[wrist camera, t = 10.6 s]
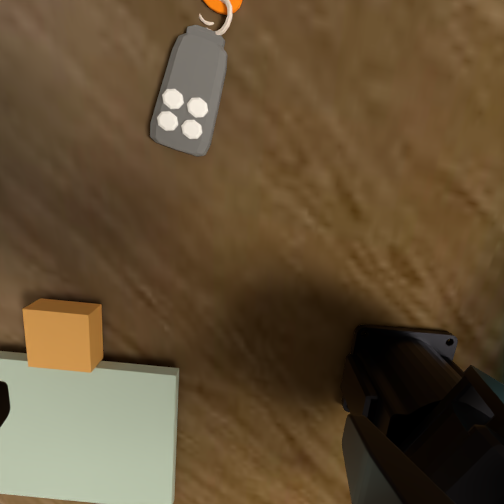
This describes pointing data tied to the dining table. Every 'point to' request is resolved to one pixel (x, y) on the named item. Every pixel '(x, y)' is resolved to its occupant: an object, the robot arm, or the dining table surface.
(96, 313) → the lid
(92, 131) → the dining table surface
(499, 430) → the robot arm
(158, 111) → the key chain
